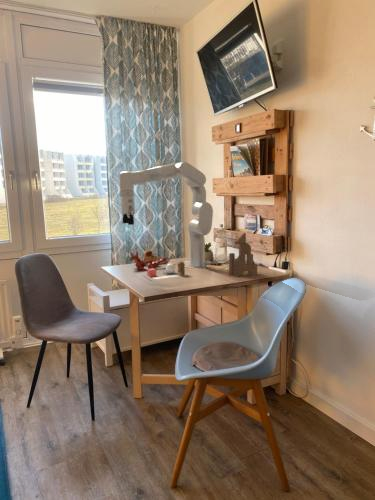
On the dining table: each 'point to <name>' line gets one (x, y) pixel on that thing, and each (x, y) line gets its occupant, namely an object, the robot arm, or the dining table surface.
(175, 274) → the board
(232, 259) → the wooden toy
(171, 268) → the dome
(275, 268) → the dining table surface
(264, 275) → the dining table surface
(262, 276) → the dining table surface
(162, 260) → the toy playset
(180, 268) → the brown rounded capsule
